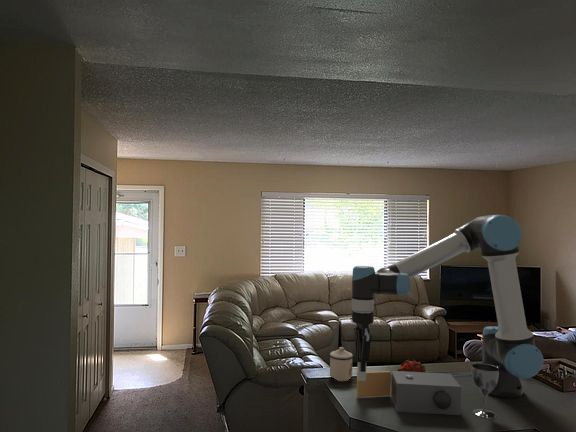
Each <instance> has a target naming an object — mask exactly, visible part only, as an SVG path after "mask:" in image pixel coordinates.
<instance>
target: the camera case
mask: <svg viewBox="0 0 576 432" xmlns="http://www.w3.org/2000/svg"><path fill="white" fill-rule="evenodd" d="M390 398H391V400H392V402H393V403H392V404H393V405H394V408H395V411H396V412H397V413H398V412H399V413H414V414H415V413H416V414H430V415H431V414H432V415H433V414H435V415H436V414H437V415H449V416H450V415H451V416H462V386H461V384H459V382H458V381H457V380H456V379H455V377H454V376H453V375H452V373H442V372H440V373H439V372H426V371H425V372H404V371H397V370H391V373H390Z"/></svg>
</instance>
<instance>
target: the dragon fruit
mask: <svg viewBox="0 0 576 432" xmlns="http://www.w3.org/2000/svg"><path fill="white" fill-rule="evenodd" d="M426 369H427V368H426V366H425V365H423V362H421V361H418V362H417V360H415V359H413V360H409V359H407V360H405V361H403V362H401V363H400V366H399V367H398V369H397V370H396V371H404V372H425V373H426Z"/></svg>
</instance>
